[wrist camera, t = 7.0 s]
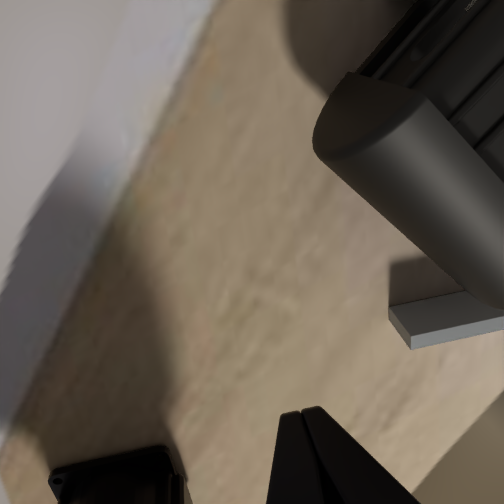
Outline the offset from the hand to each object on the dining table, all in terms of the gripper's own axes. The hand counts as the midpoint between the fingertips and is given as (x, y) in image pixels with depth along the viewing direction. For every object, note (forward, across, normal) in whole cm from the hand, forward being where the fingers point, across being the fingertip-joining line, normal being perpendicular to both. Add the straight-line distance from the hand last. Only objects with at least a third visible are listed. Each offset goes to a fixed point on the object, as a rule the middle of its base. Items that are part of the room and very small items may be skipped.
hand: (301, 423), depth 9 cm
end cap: (+12, -9, -2) cm, 15 cm away
